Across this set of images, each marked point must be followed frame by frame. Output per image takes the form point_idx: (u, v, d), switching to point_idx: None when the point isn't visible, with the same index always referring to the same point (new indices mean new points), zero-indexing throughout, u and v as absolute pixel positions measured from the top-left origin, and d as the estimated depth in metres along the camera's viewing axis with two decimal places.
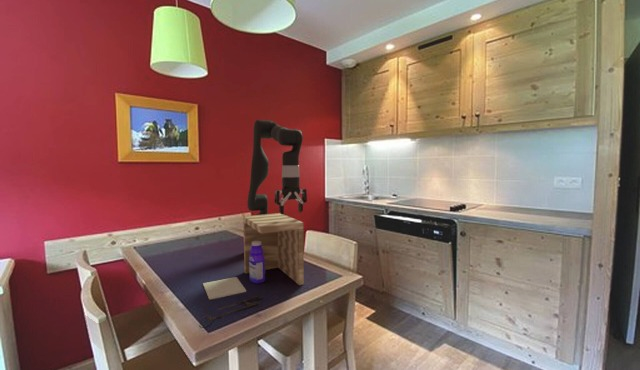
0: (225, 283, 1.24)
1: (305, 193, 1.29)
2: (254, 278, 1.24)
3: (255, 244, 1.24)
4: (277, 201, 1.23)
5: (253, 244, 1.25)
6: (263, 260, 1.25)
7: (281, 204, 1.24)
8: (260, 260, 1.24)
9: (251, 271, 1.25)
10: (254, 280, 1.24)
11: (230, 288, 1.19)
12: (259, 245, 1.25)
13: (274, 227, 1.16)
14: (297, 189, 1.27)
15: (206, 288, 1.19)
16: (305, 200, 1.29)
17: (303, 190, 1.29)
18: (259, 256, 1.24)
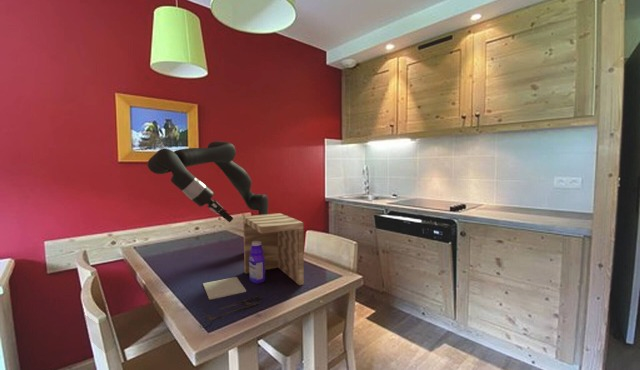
0: (225, 283, 1.24)
1: (214, 209, 1.10)
2: (254, 278, 1.24)
3: (255, 244, 1.24)
4: None
5: (253, 244, 1.25)
6: (263, 260, 1.25)
7: None
8: (260, 260, 1.24)
9: (251, 271, 1.25)
10: (254, 280, 1.24)
11: (230, 288, 1.19)
12: (259, 245, 1.25)
13: (274, 227, 1.16)
14: (208, 204, 1.13)
15: (206, 288, 1.19)
16: (220, 214, 1.12)
17: None
18: (259, 256, 1.24)
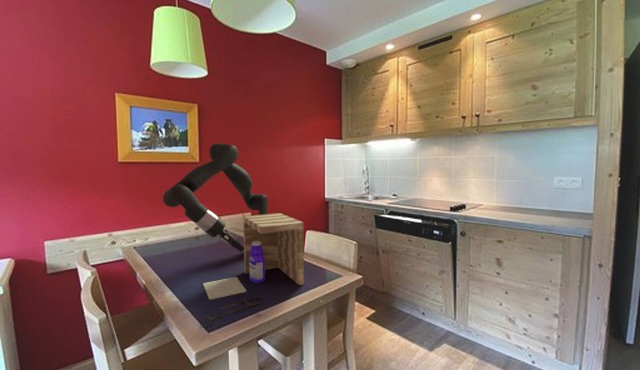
0: (225, 283, 1.24)
1: (226, 241, 1.14)
2: (254, 278, 1.24)
3: (255, 244, 1.24)
4: None
5: (253, 244, 1.25)
6: (263, 260, 1.25)
7: None
8: (260, 260, 1.24)
9: (251, 271, 1.25)
10: (254, 280, 1.24)
11: (230, 288, 1.19)
12: (259, 245, 1.25)
13: (274, 227, 1.16)
14: (220, 235, 1.16)
15: (206, 288, 1.19)
16: (232, 245, 1.15)
17: None
18: (259, 256, 1.24)
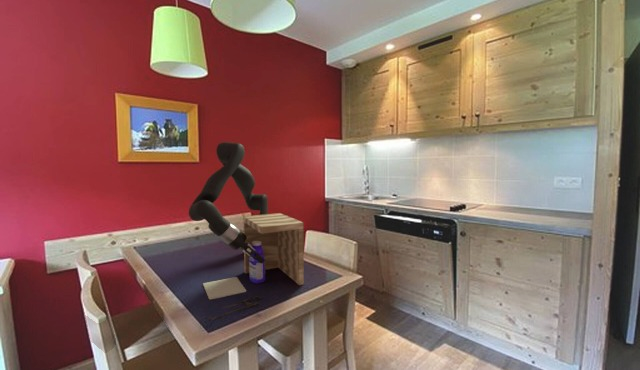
0: (225, 283, 1.24)
1: (248, 254, 1.18)
2: (254, 278, 1.24)
3: (255, 244, 1.24)
4: None
5: (253, 244, 1.25)
6: None
7: None
8: None
9: (251, 271, 1.25)
10: (254, 280, 1.24)
11: (230, 288, 1.19)
12: (259, 245, 1.25)
13: (274, 227, 1.16)
14: (242, 248, 1.21)
15: (206, 288, 1.19)
16: None
17: (246, 250, 1.19)
18: None
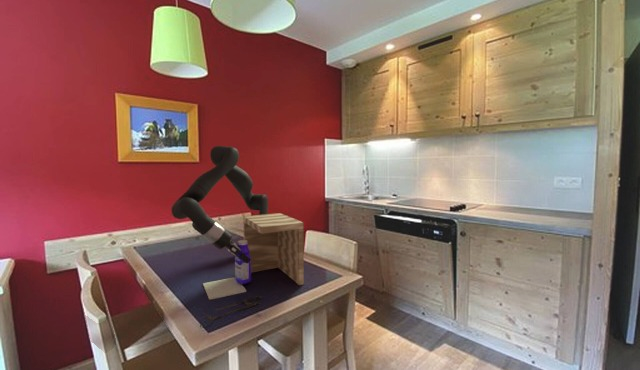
0: (225, 283, 1.24)
1: (233, 253, 1.15)
2: (240, 278, 1.21)
3: (241, 243, 1.21)
4: None
5: (239, 243, 1.21)
6: None
7: None
8: None
9: (236, 271, 1.22)
10: (239, 280, 1.21)
11: (230, 288, 1.19)
12: (245, 244, 1.22)
13: (274, 227, 1.16)
14: (227, 247, 1.17)
15: (206, 288, 1.19)
16: (239, 257, 1.17)
17: None
18: None
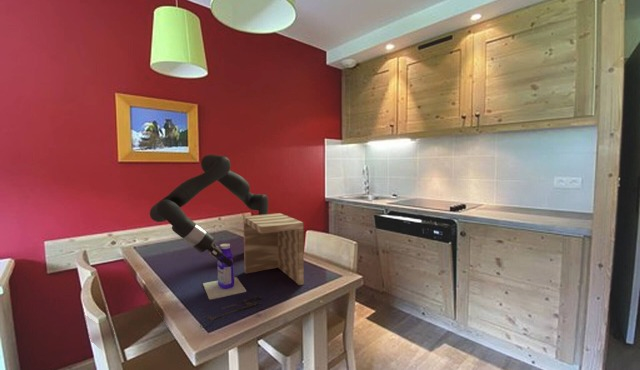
0: None
1: (214, 256, 1.12)
2: (222, 283, 1.18)
3: (223, 247, 1.18)
4: None
5: (221, 247, 1.18)
6: (232, 264, 1.19)
7: None
8: None
9: (219, 275, 1.19)
10: (222, 285, 1.18)
11: (230, 288, 1.19)
12: (227, 248, 1.19)
13: (274, 227, 1.16)
14: (209, 250, 1.14)
15: (206, 288, 1.19)
16: None
17: None
18: None
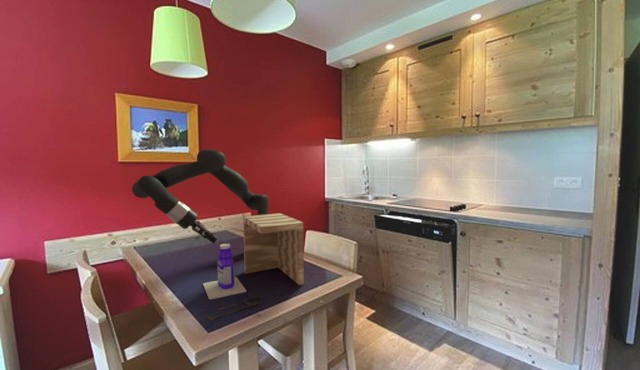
0: None
1: (197, 232, 1.13)
2: (222, 283, 1.18)
3: (223, 247, 1.18)
4: None
5: (221, 247, 1.18)
6: (232, 264, 1.19)
7: None
8: (228, 264, 1.18)
9: (219, 275, 1.19)
10: (222, 285, 1.18)
11: (230, 288, 1.19)
12: (227, 248, 1.19)
13: (274, 227, 1.16)
14: (192, 227, 1.16)
15: (206, 288, 1.19)
16: None
17: None
18: (227, 260, 1.18)
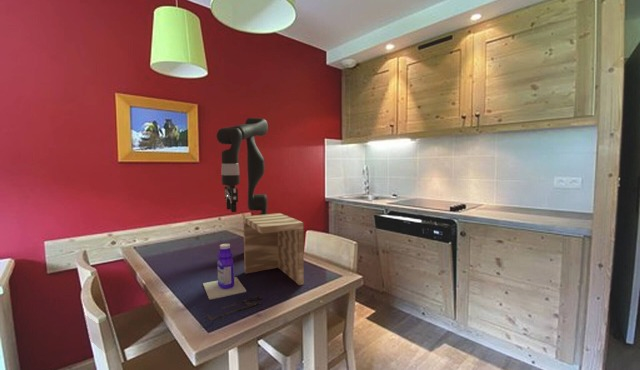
0: None
1: (231, 193, 1.23)
2: (222, 283, 1.18)
3: (223, 247, 1.18)
4: (225, 196, 1.35)
5: (221, 247, 1.18)
6: (232, 264, 1.19)
7: None
8: (228, 264, 1.18)
9: (219, 275, 1.19)
10: (222, 285, 1.18)
11: (230, 288, 1.19)
12: (227, 248, 1.19)
13: (274, 227, 1.16)
14: (229, 187, 1.26)
15: (206, 288, 1.19)
16: (231, 200, 1.23)
17: None
18: (227, 260, 1.18)
